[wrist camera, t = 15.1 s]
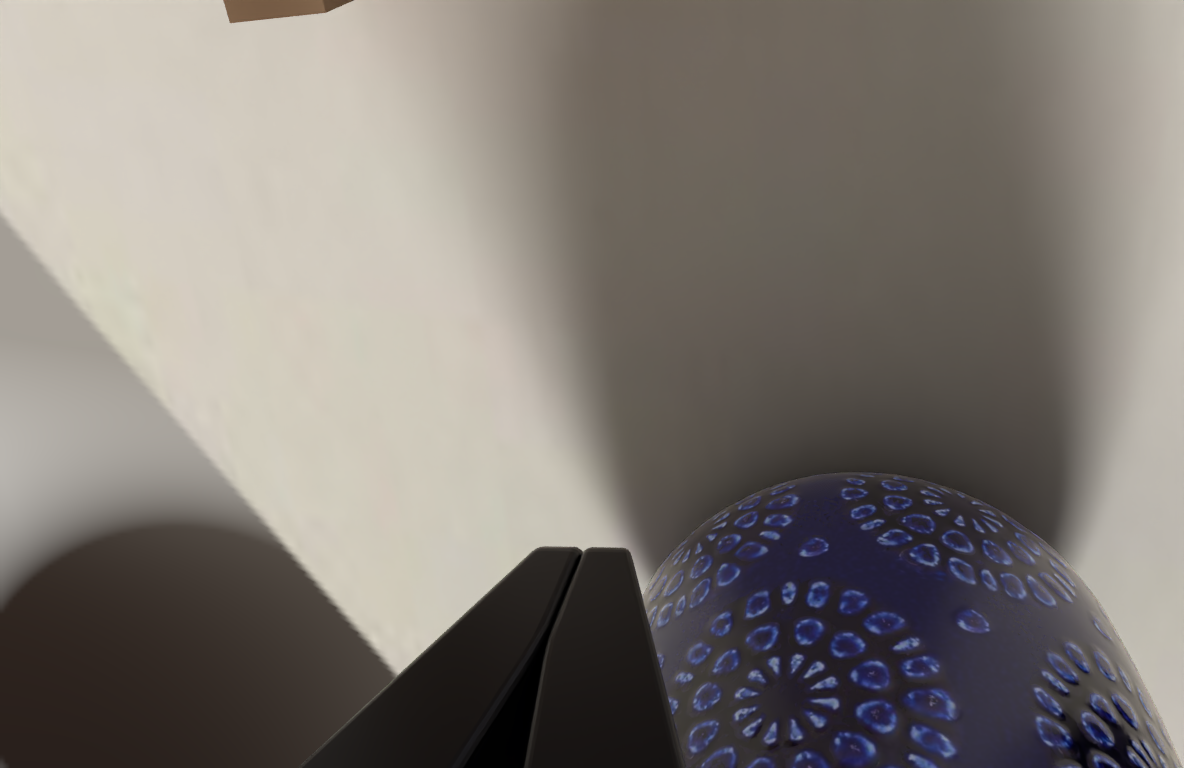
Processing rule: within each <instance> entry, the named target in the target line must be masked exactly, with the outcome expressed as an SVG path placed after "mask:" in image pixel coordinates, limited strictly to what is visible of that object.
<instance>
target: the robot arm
mask: <svg viewBox="0 0 1184 768" xmlns="http://www.w3.org/2000/svg"><path fill="white" fill-rule="evenodd" d="M298 768H686V765H685V761H684V757H683V753H682V750H681V746H680V742H679V738H678V734H677V730H676V726H675V722H674V719H673V715H672V711H671V707H670V703H669V699H668V695H667V691H666V687H665V684H664V680H663V676H662V672H661V668H660V664H659V660H658V656H657V653H656V649H655V645H654V641H653V637H652V633H651V629H650V625H649V621H648V618H647V614H646V610H645V606H644V602H643V598H642V594H641V590H640V587H639V583H638V579H637V575H636V571H635V567H634V563H633V559H632V556H631V553H630V552H629V550H627V549H626V548H604V547H591V548H588V549H586V550H585V551H584V552H583V551H582V550H580V549H579V548H577V547H546V546H545V547H539V548H537V549H535V550H534V551H532V552H531V553H530V554H529V555H528V556H527V557H526V558H525V559H524V560H522V561H521V562H520V563H519V564H518V565H517V566H516V567H515V568H514V569H513V570H512V571H511V572H509V573H508V574H507V575H506V576H505V577H504V578H503V579H502V580H501V581H500V582H499V583H498V584H496V585H495V586H494V587H493V588H492V589H491V590H490V591H489V592H488V593H487V594H486V595H485V596H483V597H482V598H481V599H480V600H479V601H478V602H477V603H476V604H475V605H474V606H473V607H472V608H470V609H469V610H468V611H467V612H466V613H465V614H464V615H463V616H462V617H461V618H460V619H459V620H457V621H456V622H455V623H454V624H453V625H452V626H451V627H450V628H449V629H448V630H447V631H446V632H444V633H443V634H442V635H441V636H440V637H439V638H438V639H437V640H436V641H435V642H434V643H433V644H431V645H430V646H429V647H428V648H427V649H426V650H425V651H424V652H423V653H422V654H421V655H420V656H418V657H417V658H416V659H415V660H414V661H413V662H412V663H411V664H410V665H409V666H408V667H407V668H405V669H404V670H403V671H402V672H401V673H400V674H399V675H398V676H397V677H396V678H395V679H394V680H392V681H391V682H390V683H389V684H388V685H387V686H386V687H385V688H384V689H383V690H382V691H381V692H380V693H378V694H377V695H376V696H375V697H374V698H373V699H372V700H371V701H370V702H369V703H367V705H365V706H364V707H363V708H362V709H361V710H360V711H359V712H358V713H357V714H356V715H354V716H353V717H352V718H351V719H350V720H349V721H348V722H347V723H346V724H345V725H344V726H343V727H342V728H340V729H339V731H337V732H336V733H335V734H334V735H333V736H332V737H331V738H330V739H329V740H327V741H326V742H325V743H324V744H323V745H322V746H321V747H320V748H319V749H318V750H317V751H315V752H314V753H313V754H312V755H311V756H310V757H309V758H308V759H307V760H306V761H305V762H304V763H302V764H301V765H300V766H299V767H298Z"/></svg>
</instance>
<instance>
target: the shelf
mask: <svg viewBox="0 0 1184 768" xmlns="http://www.w3.org/2000/svg"><path fill="white" fill-rule="evenodd" d="M351 1H353V0H224V4H225V7H226V10H227V14H228V17H229V21H230V23H235V22H244V21H254V20H263V19H272V18H281V17H290V16H299V15H309V14H318V13H326V12H328V11H331V10H333V9H335V8H337V7H340V6H342V5H344V4H346V3H349V2H351Z"/></svg>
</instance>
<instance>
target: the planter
mask: <svg viewBox="0 0 1184 768" xmlns="http://www.w3.org/2000/svg"><path fill="white" fill-rule="evenodd" d="M642 598H643V602H644V606H645V610H646V614H647V618H648V621H649V625H650V629H651V633H652V637H653V641H654V645H655V649H656V653H657V656H658V660H659V664H660V668H661V672H662V676H663V680H664V684H665V687H666V691H667V695H668V699H669V703H670V707H671V711H672V715H673V719H674V722H675V726H676V730H677V734H678V738H679V742H680V746H681V750H682V753H683V757H684V761H685V765H686V768H1183V767H1182V764H1181V762H1180V760H1179V757H1178V755H1177V753H1176V750H1175V748H1174V746H1173V744H1172V741H1171V739H1170V737H1169V734H1168V732H1167V730H1166V728H1165V725H1164V723H1163V721H1162V719H1161V716H1160V714H1159V712H1158V710H1157V708H1156V706H1155V704H1154V702H1153V700H1152V698H1151V696H1150V694H1149V692H1148V690H1147V688H1146V686H1145V684H1144V682H1143V680H1142V678H1141V676H1140V674H1139V672H1138V670H1137V668H1136V666H1135V664H1134V663H1133V661H1132V659H1131V657H1130V655H1129V653H1128V652H1127V650H1126V648H1125V646H1124V644H1123V643H1122V641H1121V639H1120V637H1119V635H1118V634H1117V632H1116V630H1115V628H1114V626H1113V624H1112V623H1111V621H1110V619H1109V617H1108V615H1107V614H1106V612H1105V610H1104V609H1103V607H1102V606H1101V604H1100V603H1099V601H1098V600H1097V599H1096V597H1095V596H1094V595H1093V593H1092V592H1091V591H1090V589H1089V588H1088V587H1087V586H1086V584H1085V583H1084V582H1083V581H1082V579H1081V578H1080V577H1079V575H1078V574H1077V573H1076V572H1075V570H1074V569H1073V568H1072V567H1071V566H1070V565H1069V563H1068V562H1067V561H1066V560H1065V559H1064V558H1063V557H1062V556H1061V555H1060V554H1059V553H1058V552H1057V551H1056V550H1055V549H1054V548H1053V547H1051V546H1050V545H1049V544H1048V543H1047V542H1045V541H1044V540H1043V539H1042V538H1040V537H1039V536H1038V535H1036V534H1035V533H1034V532H1032V531H1031V530H1029V529H1028V528H1026V527H1025V526H1023V525H1022V524H1020V523H1019V522H1017V521H1016V520H1014V519H1013V518H1011V517H1010V516H1008V515H1007V514H1005V513H1004V512H1002V511H1000V510H998V509H997V508H995V507H993V506H991V505H989V504H987V503H985V502H983V501H981V500H979V499H977V498H974V497H972V496H969V495H967V494H964V493H962V492H959V491H956V490H954V489H951V488H948V487H945V486H943V485H939V484H936V483H933V482H929V481H925V480H922V479H917V478H912V477H907V476H902V475H895V474H887V473H875V472H839V473H828V474H820V475H814V476H808V477H803V478H798V479H794V480H790V481H786V482H783V483H780V484H776V485H774V486H771V487H768V488H765V489H763V490H760V491H758V492H756V493H753V494H751V495H749V496H747V497H745V498H743V499H741V500H739V501H737V502H735V503H734V504H732V505H730V506H728V507H726V508H725V509H723V510H721V511H720V512H718V513H717V514H715V515H714V516H712V517H711V518H709V519H708V520H707V521H705V522H704V523H703V524H701V525H700V526H699V527H698V528H697V529H696V530H694V531H693V532H692V533H691V534H690V535H689V536H688V537H687V538H686V539H685V540H683V541H682V542H681V543H680V544H679V545H678V546H677V547H676V548H675V549H674V550H673V551H672V552H671V553H670V554H669V555H668V557H667V558H666V559H665V560H664V561H663V563H662V564H661V565H660V567H659V568H658V570H657V571H656V573H655V574H654V576H653V577H652V579H651V581H650V583H649V584H648V586H647V588H646V590H645V592H644V594H643V596H642Z"/></svg>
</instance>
